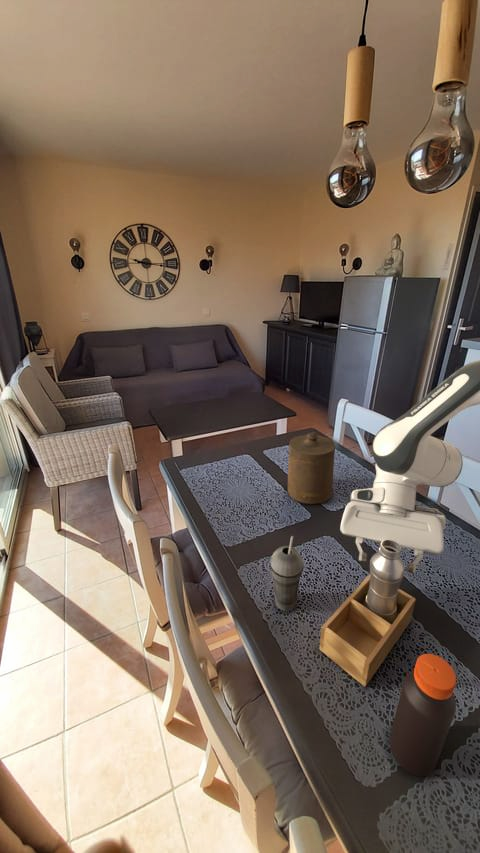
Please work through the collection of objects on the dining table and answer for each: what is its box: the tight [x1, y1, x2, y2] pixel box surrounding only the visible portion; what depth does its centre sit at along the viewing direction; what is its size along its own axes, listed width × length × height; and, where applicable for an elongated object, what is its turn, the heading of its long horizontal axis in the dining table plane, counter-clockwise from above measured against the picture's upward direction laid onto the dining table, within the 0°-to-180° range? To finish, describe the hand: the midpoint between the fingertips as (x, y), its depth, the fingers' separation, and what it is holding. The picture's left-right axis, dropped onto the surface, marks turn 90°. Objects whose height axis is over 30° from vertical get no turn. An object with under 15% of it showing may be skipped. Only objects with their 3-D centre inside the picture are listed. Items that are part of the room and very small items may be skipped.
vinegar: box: [389, 653, 457, 778], centre depth 53 cm, size 7×7×20 cm
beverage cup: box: [269, 535, 305, 612], centre depth 79 cm, size 7×7×20 cm
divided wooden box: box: [319, 573, 417, 688], centre depth 74 cm, size 10×19×7 cm, turn 133°
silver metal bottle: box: [364, 539, 406, 625], centre depth 74 cm, size 6×7×20 cm
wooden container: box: [287, 431, 336, 505], centre depth 119 cm, size 15×15×22 cm
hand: (386, 566), depth 75 cm, fingers open, 8 cm apart
